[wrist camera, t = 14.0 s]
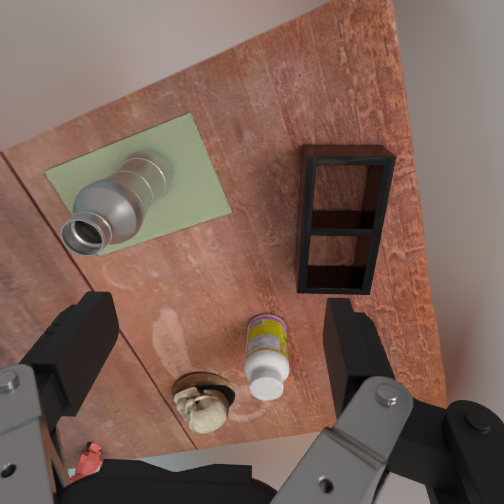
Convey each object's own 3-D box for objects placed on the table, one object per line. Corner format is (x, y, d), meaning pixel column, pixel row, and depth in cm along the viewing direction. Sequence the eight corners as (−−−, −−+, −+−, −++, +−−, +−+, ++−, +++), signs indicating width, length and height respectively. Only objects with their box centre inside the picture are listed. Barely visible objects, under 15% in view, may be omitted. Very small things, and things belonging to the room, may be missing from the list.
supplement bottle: (281, 345, 62) (284, 409, 51) (244, 338, 62) (238, 401, 50) (291, 315, 59) (295, 377, 47) (251, 308, 58) (247, 369, 47)
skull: (174, 419, 71) (159, 433, 61) (181, 366, 74) (168, 371, 64) (233, 425, 71) (228, 440, 61) (238, 371, 73) (234, 377, 63)
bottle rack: (302, 144, 45) (306, 155, 40) (381, 144, 45) (396, 156, 40) (294, 270, 54) (296, 293, 49) (360, 271, 54) (369, 295, 49)
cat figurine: (80, 437, 78) (50, 496, 67) (111, 442, 78) (86, 502, 68) (81, 456, 81) (52, 515, 71) (110, 460, 82) (87, 520, 71)
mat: (190, 112, 44) (189, 112, 43) (232, 211, 50) (231, 212, 50) (46, 170, 48) (43, 171, 48) (100, 254, 55) (99, 256, 54)
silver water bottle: (123, 145, 46) (31, 200, 28) (175, 147, 46) (114, 203, 28) (130, 193, 49) (52, 269, 31) (179, 194, 49) (127, 272, 31)
